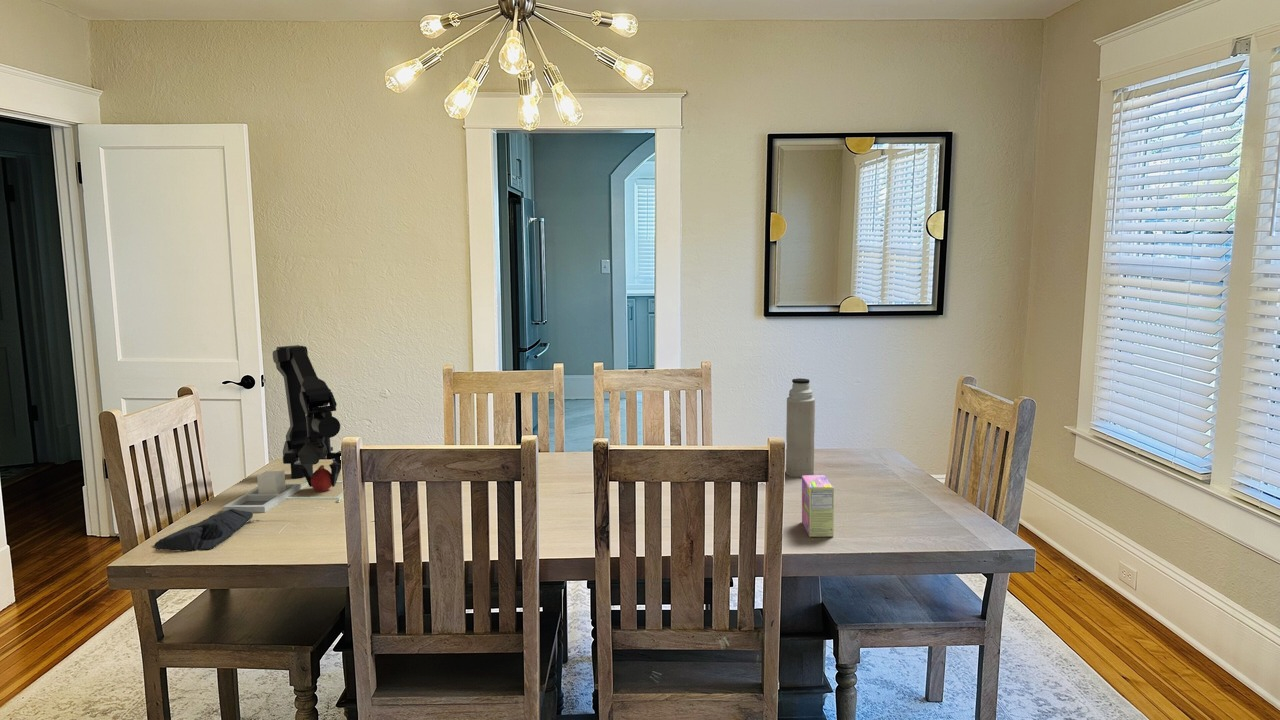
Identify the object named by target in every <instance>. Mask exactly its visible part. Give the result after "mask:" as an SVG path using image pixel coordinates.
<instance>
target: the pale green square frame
mask: <svg viewBox="0 0 1280 720" xmlns="http://www.w3.org/2000/svg"><path fill="white" fill-rule="evenodd" d="M342 481H343V480H337V481H336V484H343V483H342ZM306 486H309V484H308V482H307V481H305V482H304V483H302V484H301V489H302V488H304V487H306ZM343 492H344V491H342V492H341V493H340V494H338V495H337V496H290V497H287V498H286V499H285V500H336V501H335V502H338V501H339V503H341V502H340V500H341V499H342V501H344V499H343Z"/></svg>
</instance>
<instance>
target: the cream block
mask: <svg viewBox="0 0 1280 720" xmlns="http://www.w3.org/2000/svg"><path fill="white" fill-rule="evenodd" d="M285 474H286V473H285V470H266V471H264V472H262V473H260V474H259V475H257V476H256V477H257V478H256V479H257V487H258V492H259V494H281V493H283V492H284V491H286V485H285V484H286V477H285Z"/></svg>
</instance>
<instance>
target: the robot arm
mask: <svg viewBox="0 0 1280 720" xmlns="http://www.w3.org/2000/svg"><path fill="white" fill-rule="evenodd" d="M272 360H273V363H275V367H276V370H277V371H278V372H279V373H280V374H281V376H282V377H283V382H284V390H285V396H286V397H285V398H286V404H287V412H288V419H289V428H288V430H287V432H286V434H285V441H284V444H283V448H282V464H283V465H285V464H286V465H289V464H290V475H291V480H292V479H293V480H295V479H300V480H301V479H304V478H305V480H306V482H308V486H309V487H310V488H313V487H312V485H311V476H312V475H313V473H314V468H313V467H314V465H317V464H319V462H320V460H332V462H331V463H330V464H328V465H329V468H330V473H331V483H332V486H331V487H333V488H334V487H335V486H336V484H337V483H336V481H338V479H339V476H340V473H341V470H342V468H341V460H340V456H341V451H340V450H338V451H337V452H333V451H334V447H333V446H332V445H331V439H332V438H333V437H336V435H338V434H339V433H340V430H341V423H340V421H339V419H337V418H336V417H335V416H333V413H332V412H336V411H337V405H338V404H337V401H336V399H335V396H334V394H333V392H332V390H331V388H329V386H328V385H327V383H326V382H325V380H322V379H320V378H319V377H318V376H317V373H316V370H315V368H314V366H313V364H312V361H311V359H310V358H309V353H308V348H307V346H304V345H299V344H297V345H285V346H277V347H276V348H275V350H273V351H272Z"/></svg>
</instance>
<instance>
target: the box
mask: <svg viewBox="0 0 1280 720" xmlns="http://www.w3.org/2000/svg"><path fill="white" fill-rule="evenodd" d="M834 503H835V487H834V486H833V484H832V483H831V482H830V480H829V479H828V477H827V476H826V475H825V474H820V475H819V474H813V475H804V476H802V477H801V522H802V525H803V527H804V529H805V530H806V531H805V532H806V533H807V535H808V538H809V537H810V538H816V537H817V538H827V537H829V538H831V537H832V538H833V537H834V525H835V524H834V523H835V522H834V521H835V519H834V518H835V517H834V516H835V514H834V512H835V511H834V510H835V505H834Z"/></svg>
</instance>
